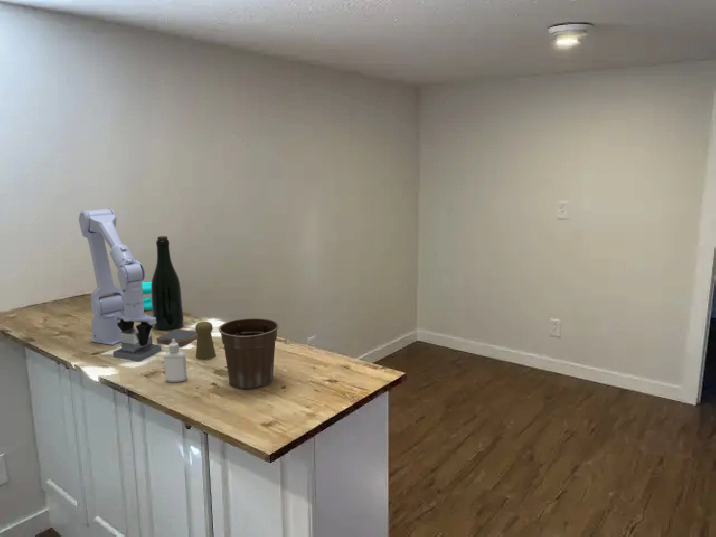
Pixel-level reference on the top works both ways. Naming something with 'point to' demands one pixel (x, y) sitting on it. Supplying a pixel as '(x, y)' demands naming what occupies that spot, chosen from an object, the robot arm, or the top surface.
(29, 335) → the top surface
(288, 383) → the top surface
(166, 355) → the eye dropper bottle
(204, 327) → the cork
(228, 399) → the top surface
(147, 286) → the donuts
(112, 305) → the robot arm
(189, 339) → the stand
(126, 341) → the block
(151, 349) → the stand
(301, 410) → the top surface
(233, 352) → the plant pot
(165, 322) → the dark green wine bottle
